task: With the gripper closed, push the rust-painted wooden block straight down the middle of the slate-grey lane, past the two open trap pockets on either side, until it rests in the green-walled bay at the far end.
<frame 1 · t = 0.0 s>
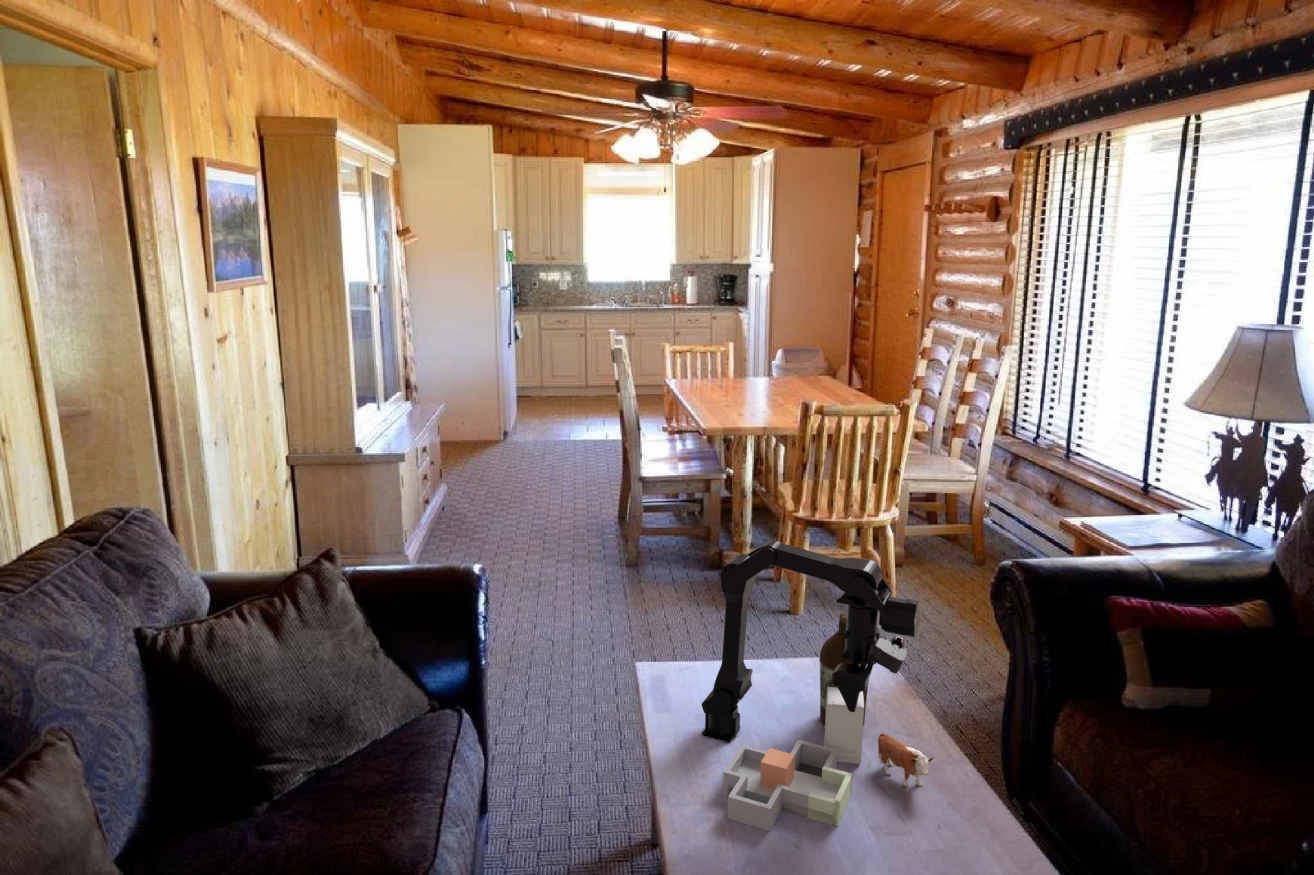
hand: (857, 700, 170), 15 cm above the table, tool pointing down, fingers open, 9 cm apart
supplement box: (842, 753, 178), on the table
trap lane: (787, 793, 165), on the table
bull figurine: (903, 781, 169), on the table
block: (777, 781, 165), point 2 cm above the table, touching trap lane
olive oil: (841, 723, 189), on the table
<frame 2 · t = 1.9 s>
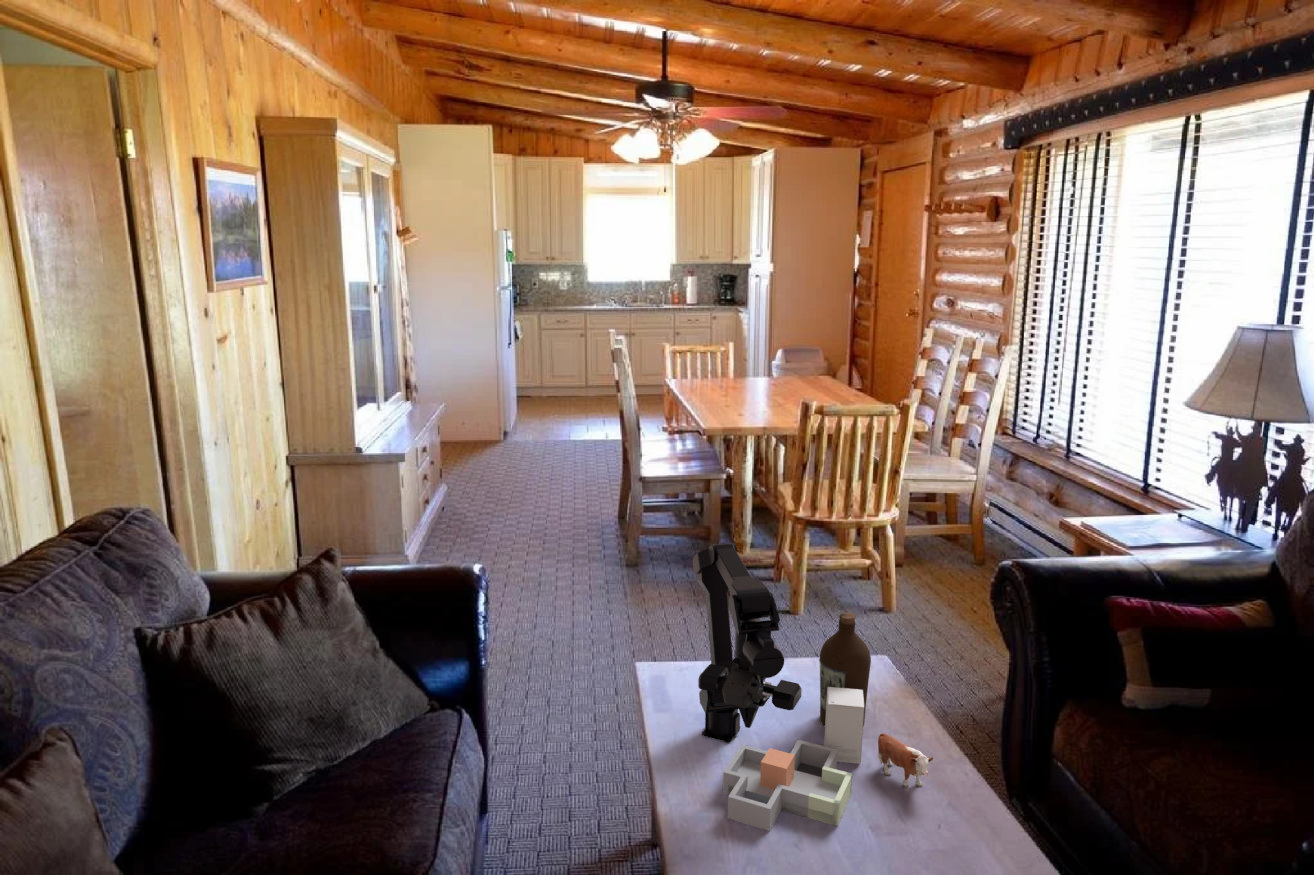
hand: (748, 726, 166), 12 cm above the table, tool pointing down, fingers closed
nothing on the table moved.
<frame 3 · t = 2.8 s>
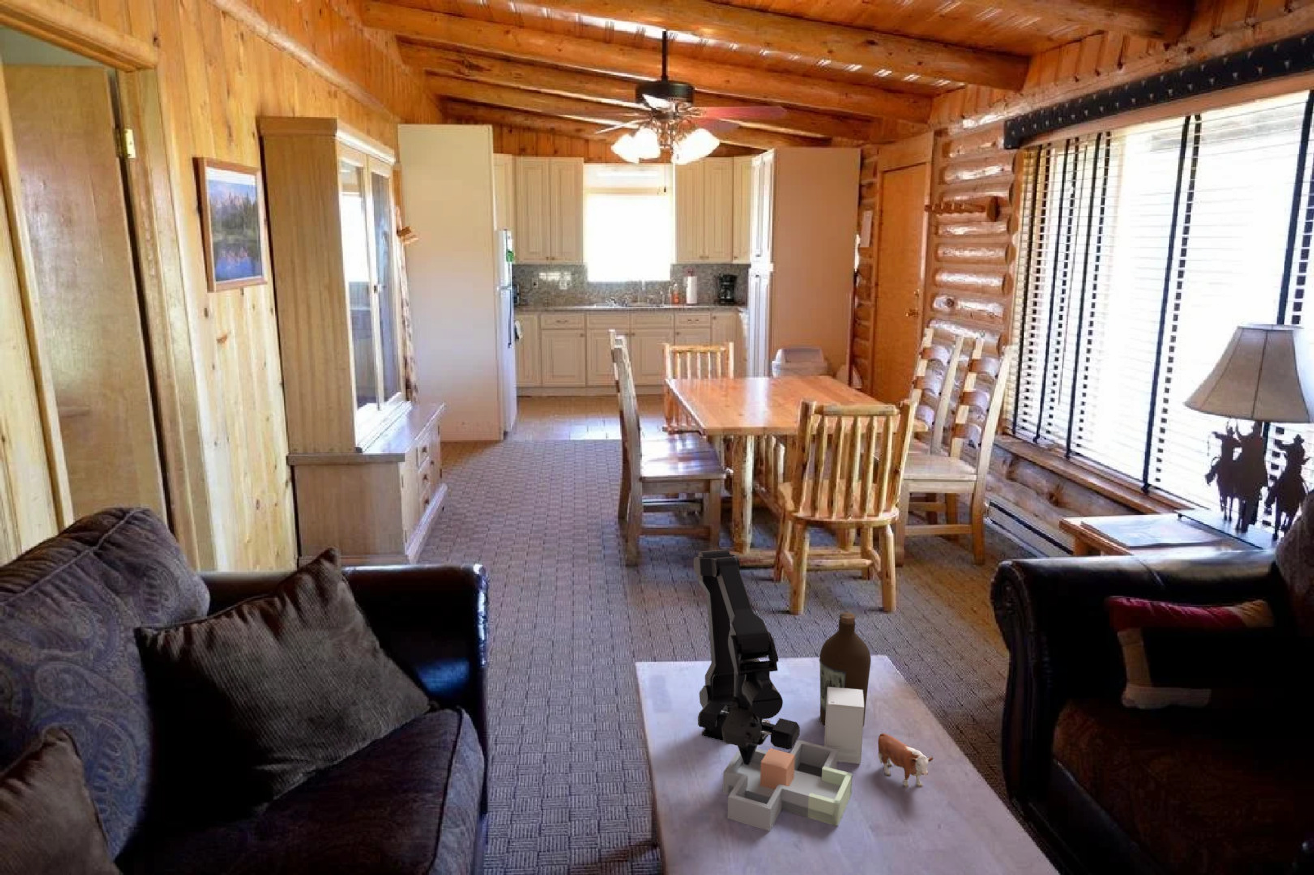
hand: (747, 763, 168), 4 cm above the table, tool pointing down, fingers closed
nothing on the table moved.
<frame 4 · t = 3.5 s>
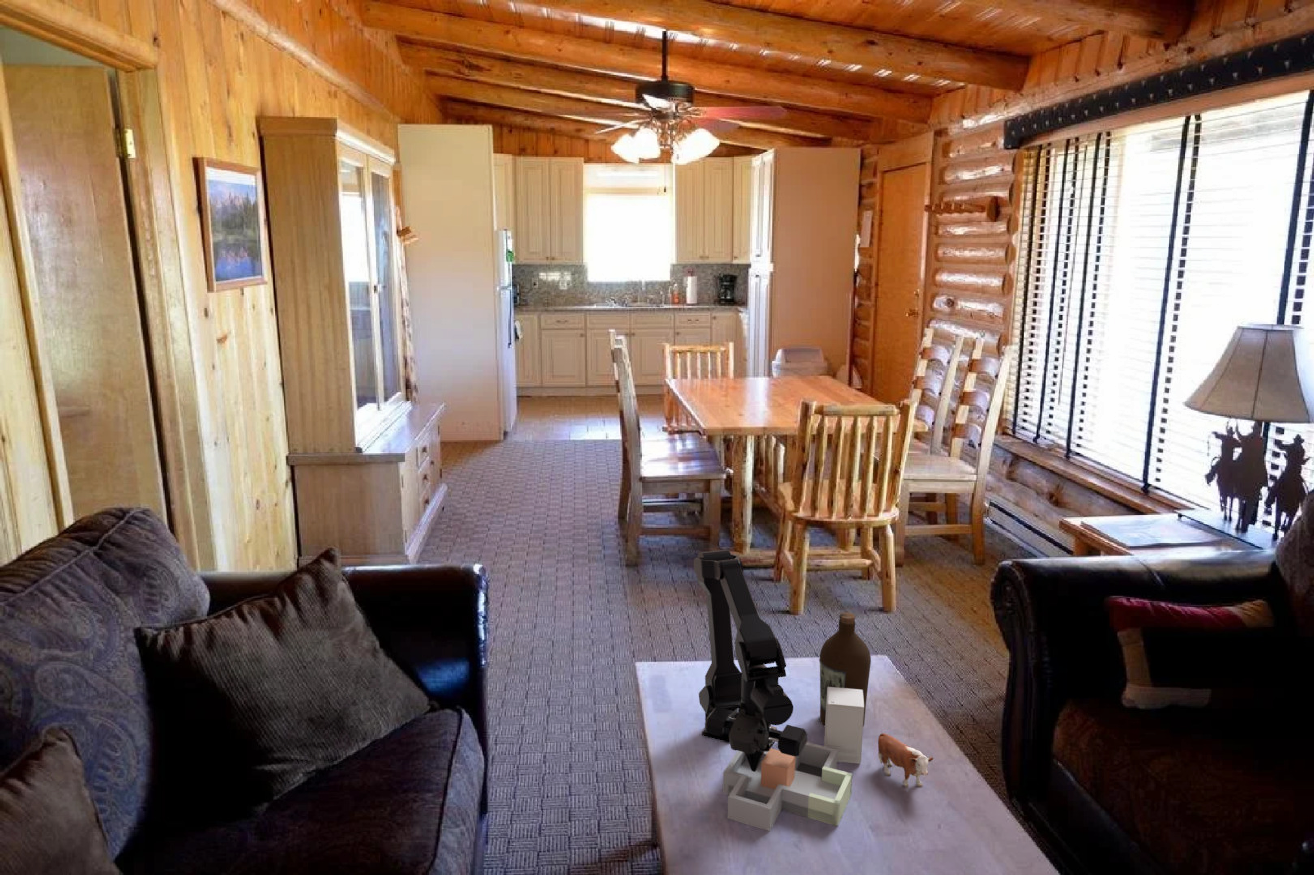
hand: (754, 770, 167), 3 cm above the table, tool pointing down, fingers closed
block: (777, 781, 165), point 2 cm above the table, touching gripper, trap lane
everything else where it was.
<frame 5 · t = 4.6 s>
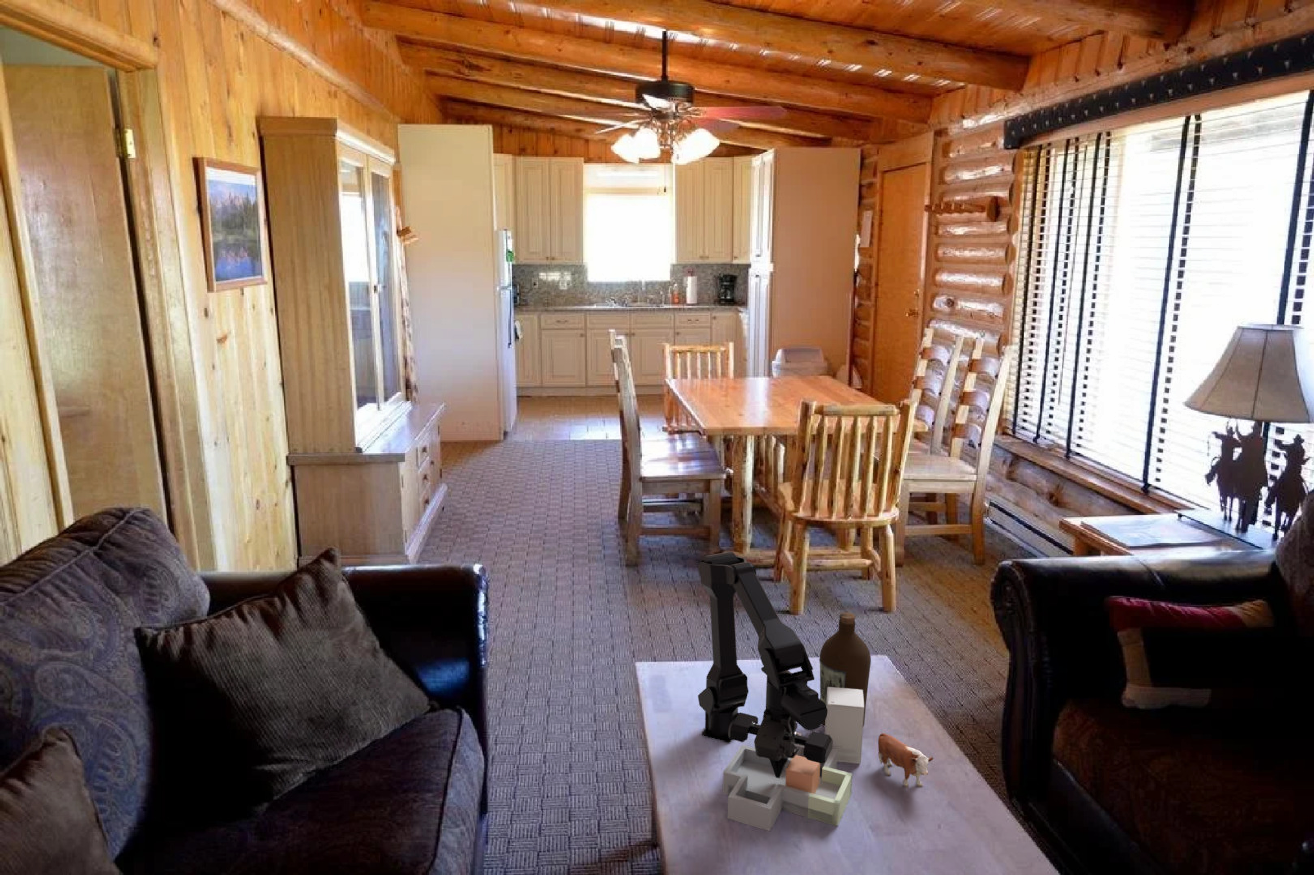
hand: (778, 777, 165), 3 cm above the table, tool pointing down, fingers closed
block: (802, 788, 163), point 2 cm above the table, touching gripper, trap lane
everything else where it was.
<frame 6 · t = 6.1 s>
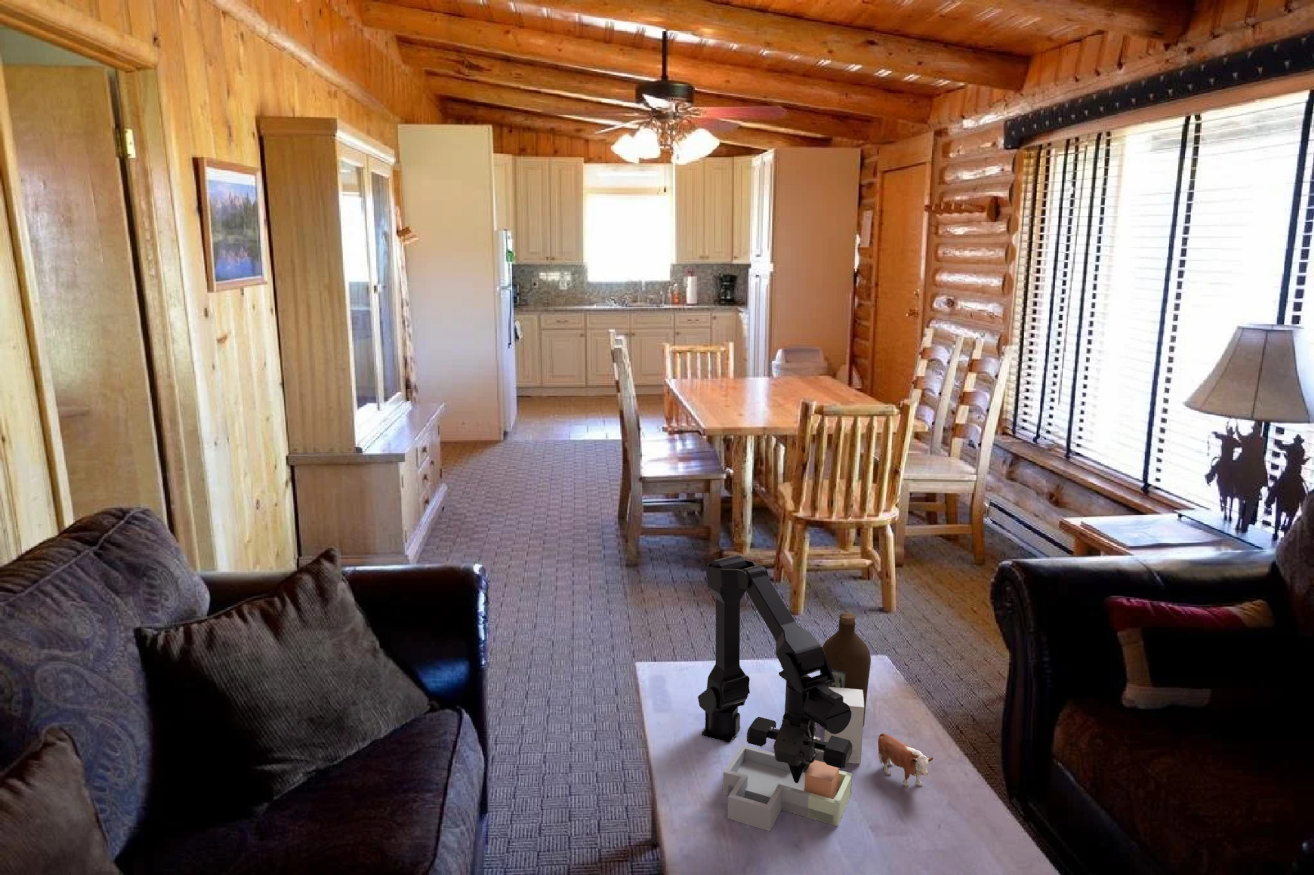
hand: (797, 781, 164), 3 cm above the table, tool pointing down, fingers closed
block: (821, 794, 162), point 2 cm above the table, touching gripper, trap lane
everything else where it was.
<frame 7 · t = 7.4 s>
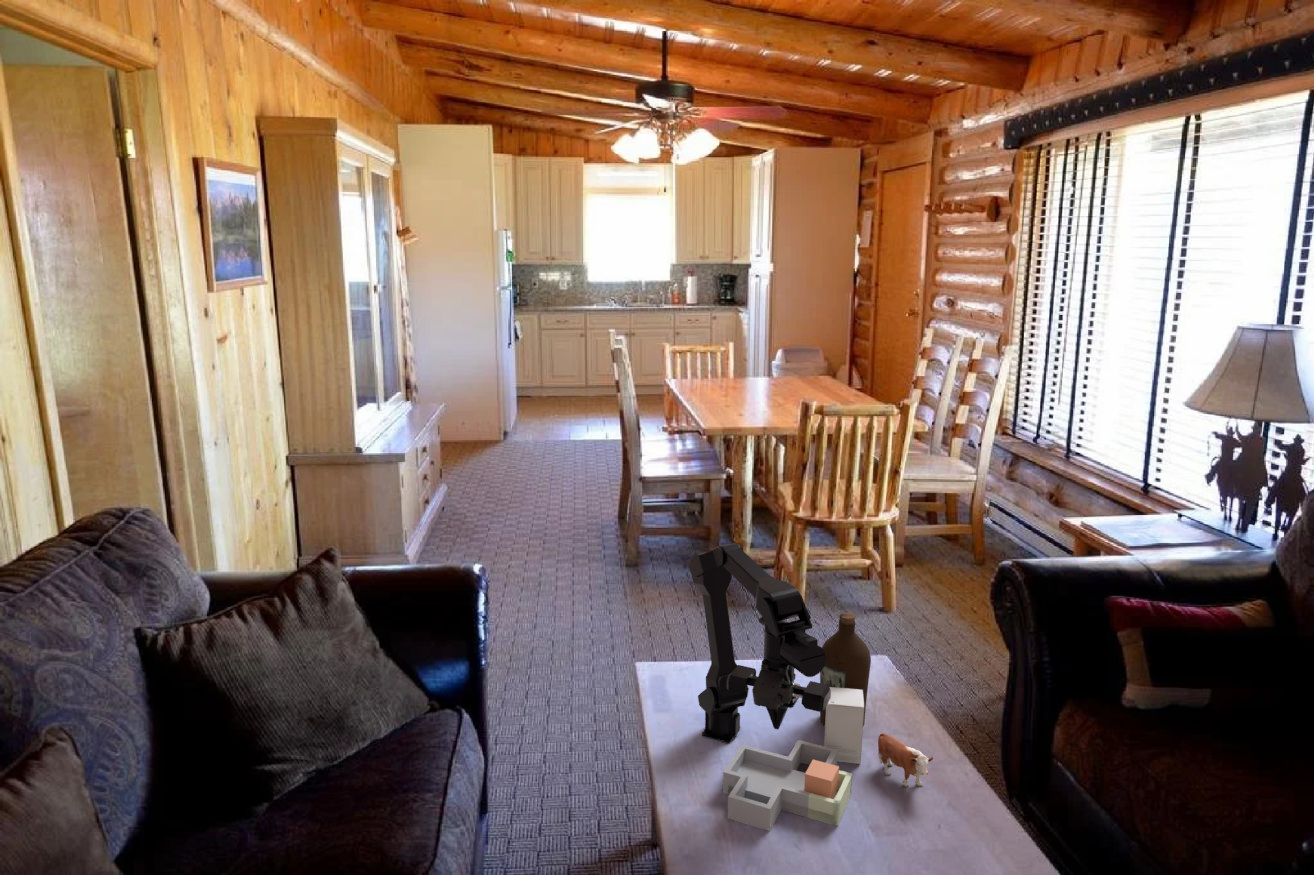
hand: (776, 728, 165), 12 cm above the table, tool pointing down, fingers closed
block: (821, 794, 162), point 2 cm above the table, touching trap lane
everything else where it was.
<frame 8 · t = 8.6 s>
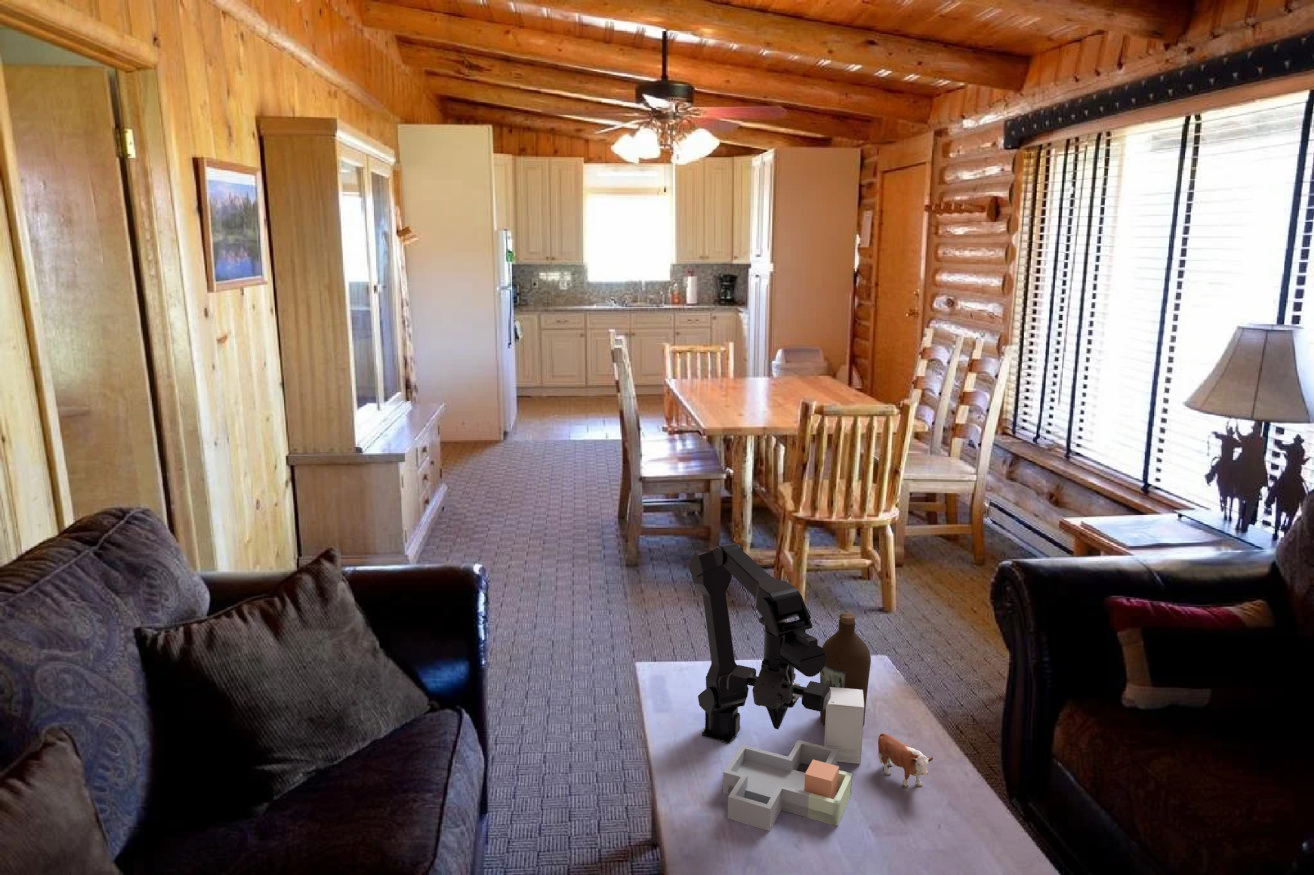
hand: (776, 728, 165), 12 cm above the table, tool pointing down, fingers closed
nothing on the table moved.
at the end: block 0.5 cm from the target spot, point 2.0 cm above the table; block tilted 0° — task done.
